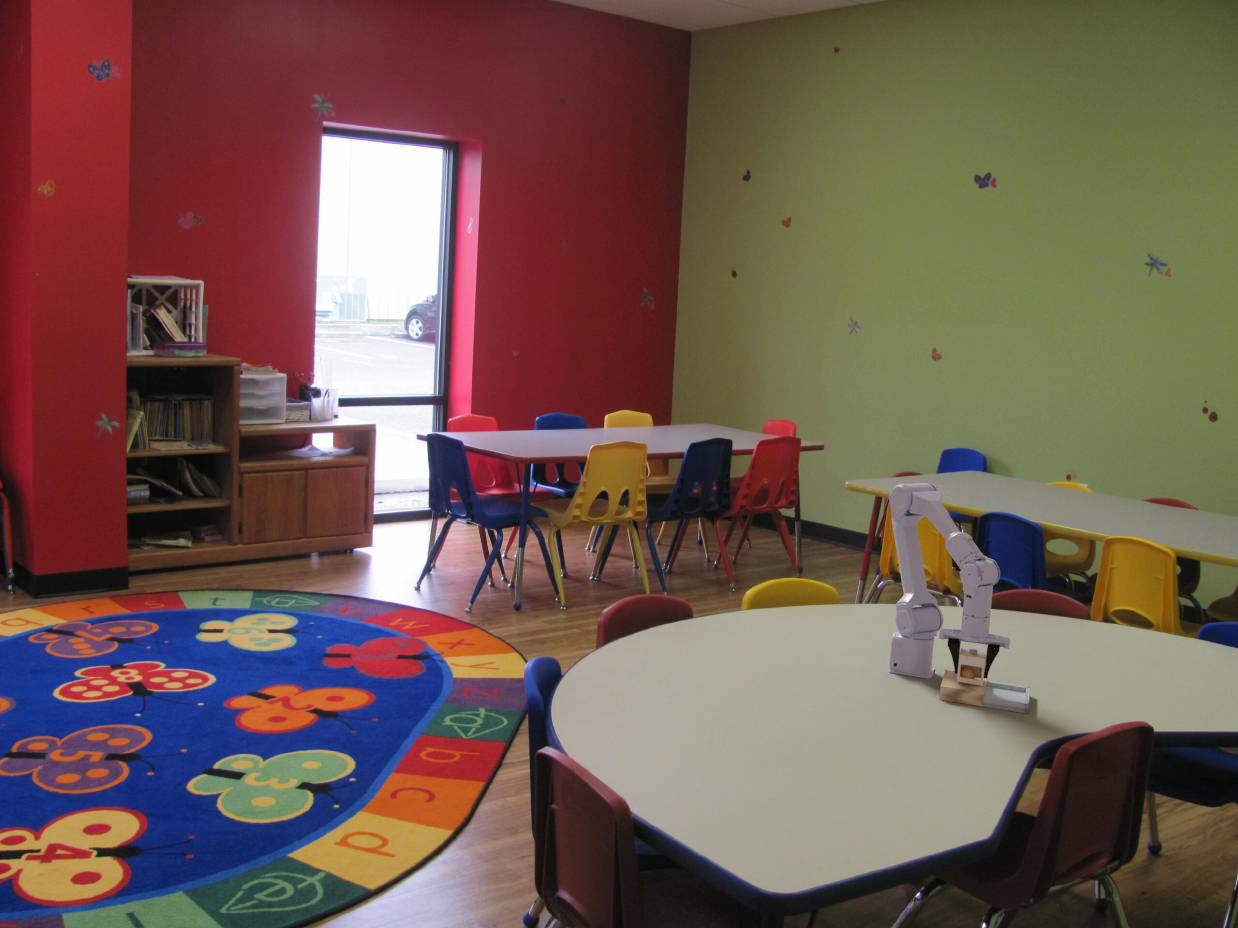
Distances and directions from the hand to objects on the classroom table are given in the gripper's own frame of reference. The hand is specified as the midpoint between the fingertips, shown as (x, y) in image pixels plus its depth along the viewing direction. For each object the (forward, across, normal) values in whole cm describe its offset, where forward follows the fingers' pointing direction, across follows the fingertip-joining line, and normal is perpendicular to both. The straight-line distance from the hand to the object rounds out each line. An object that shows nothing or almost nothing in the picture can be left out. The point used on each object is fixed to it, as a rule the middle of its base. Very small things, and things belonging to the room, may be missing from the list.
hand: (971, 674), depth 237 cm
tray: (+5, +8, 0) cm, 9 cm away
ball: (0, -1, 0) cm, 1 cm away
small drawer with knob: (+1, 0, 0) cm, 1 cm away
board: (+5, -1, 0) cm, 5 cm away
